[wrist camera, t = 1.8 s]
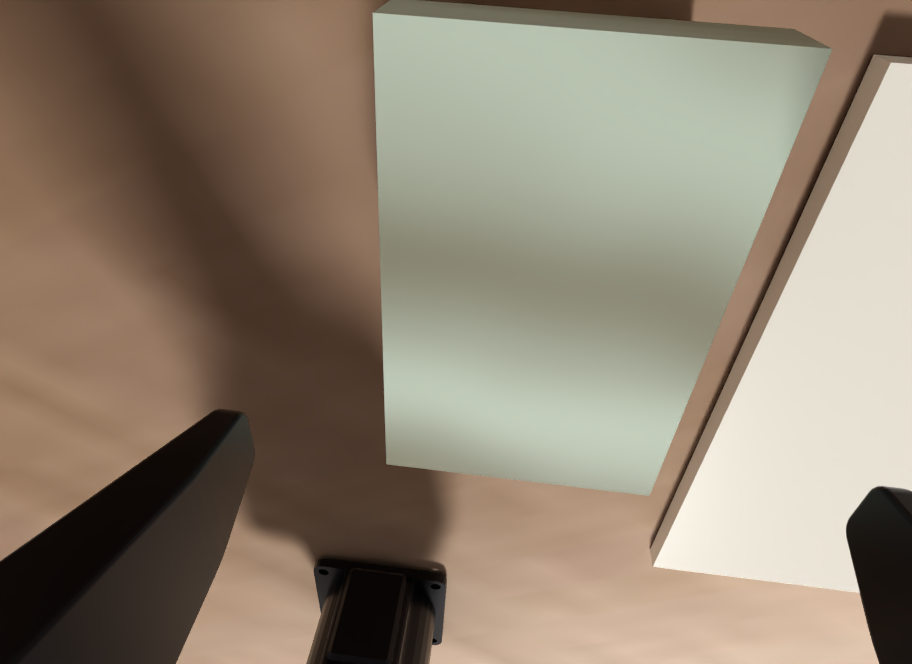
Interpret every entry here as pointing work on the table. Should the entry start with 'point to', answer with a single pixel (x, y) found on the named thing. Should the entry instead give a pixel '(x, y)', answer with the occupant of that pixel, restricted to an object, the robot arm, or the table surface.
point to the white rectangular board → (815, 372)
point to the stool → (566, 226)
